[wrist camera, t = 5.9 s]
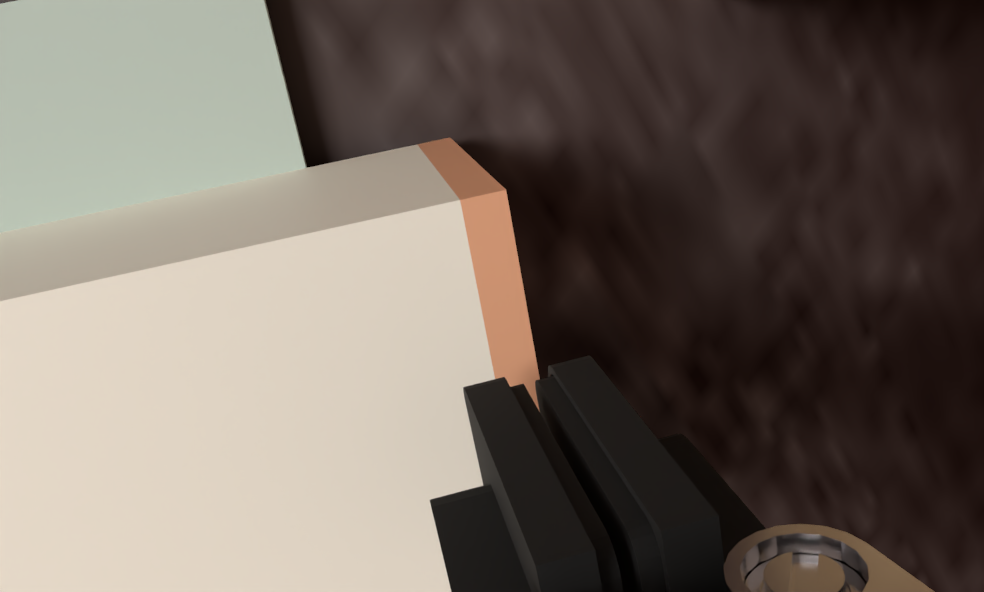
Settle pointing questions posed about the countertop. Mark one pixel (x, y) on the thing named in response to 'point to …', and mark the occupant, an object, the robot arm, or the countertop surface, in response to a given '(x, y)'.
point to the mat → (136, 103)
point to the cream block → (255, 379)
